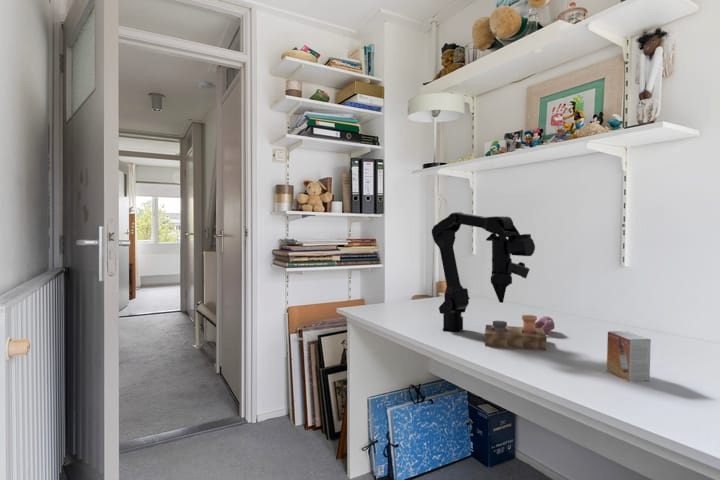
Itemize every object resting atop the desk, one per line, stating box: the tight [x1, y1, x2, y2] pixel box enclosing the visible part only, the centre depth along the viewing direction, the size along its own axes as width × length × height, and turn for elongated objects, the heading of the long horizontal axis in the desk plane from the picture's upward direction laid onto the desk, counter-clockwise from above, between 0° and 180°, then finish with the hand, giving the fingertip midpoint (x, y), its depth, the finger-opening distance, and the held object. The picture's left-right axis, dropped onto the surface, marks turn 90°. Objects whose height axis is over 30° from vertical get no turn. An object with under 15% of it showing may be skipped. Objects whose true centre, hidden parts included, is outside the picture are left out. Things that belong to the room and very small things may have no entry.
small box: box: [606, 330, 652, 383], centre depth 103 cm, size 8×6×10 cm
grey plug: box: [492, 320, 508, 332], centre depth 135 cm, size 4×4×6 cm
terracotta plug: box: [521, 314, 538, 334], centre depth 132 cm, size 4×4×6 cm
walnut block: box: [484, 324, 548, 351], centre depth 133 cm, size 18×12×4 cm, turn 71°
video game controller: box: [535, 316, 555, 335], centre depth 146 cm, size 10×5×7 cm, turn 169°
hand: (501, 302), depth 134 cm, fingers closed
